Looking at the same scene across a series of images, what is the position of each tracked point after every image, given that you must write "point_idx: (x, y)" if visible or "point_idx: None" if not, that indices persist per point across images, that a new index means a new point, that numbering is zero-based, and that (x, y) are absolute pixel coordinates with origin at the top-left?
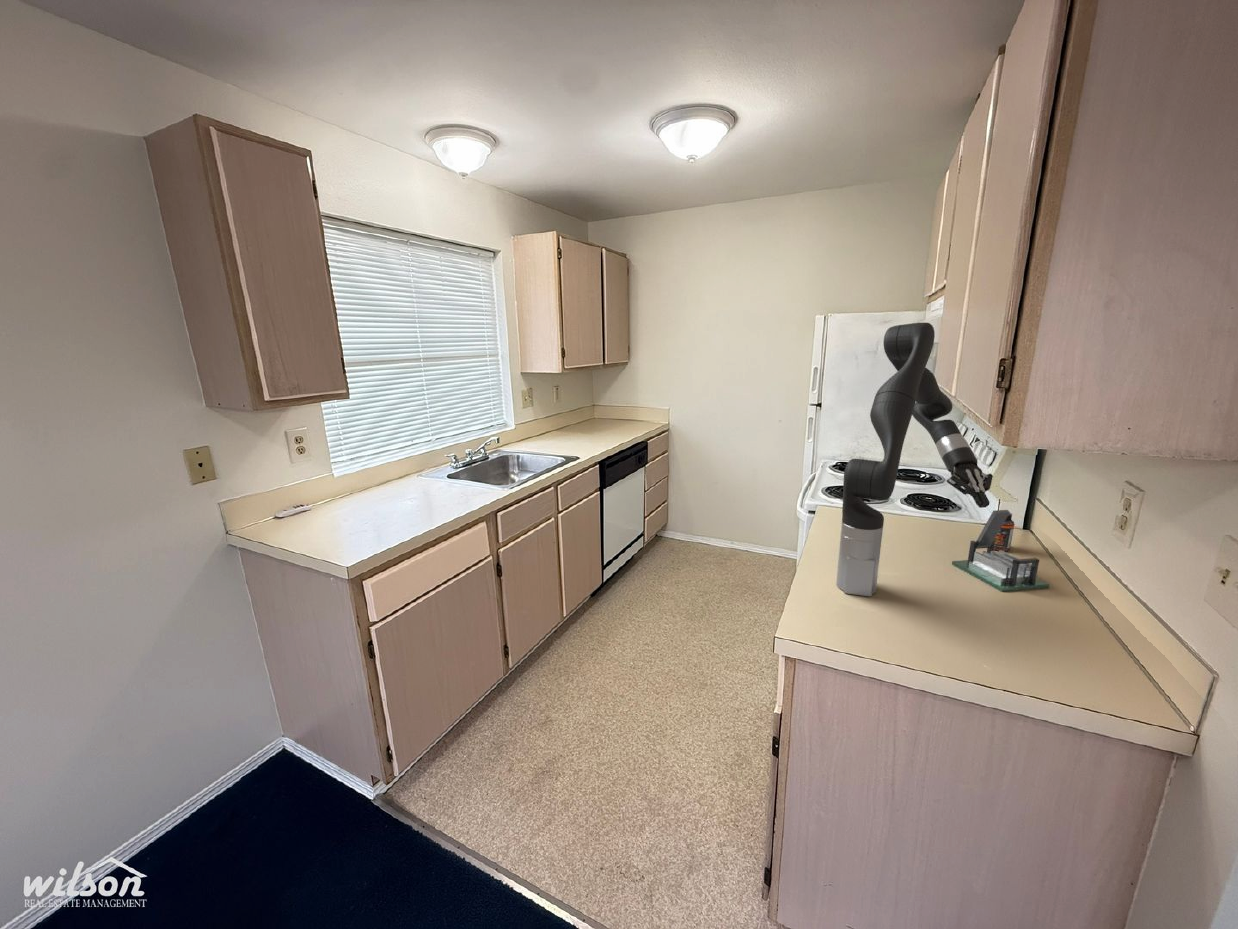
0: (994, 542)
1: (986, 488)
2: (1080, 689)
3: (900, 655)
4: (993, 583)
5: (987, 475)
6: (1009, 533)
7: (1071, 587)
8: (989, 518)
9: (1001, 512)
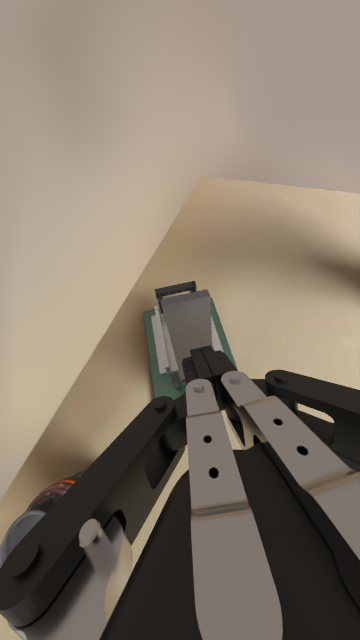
0: (171, 373)
1: (170, 400)
2: (235, 190)
3: (349, 200)
4: (215, 308)
5: (53, 581)
6: (71, 476)
7: (114, 319)
8: (210, 317)
9: (188, 294)
